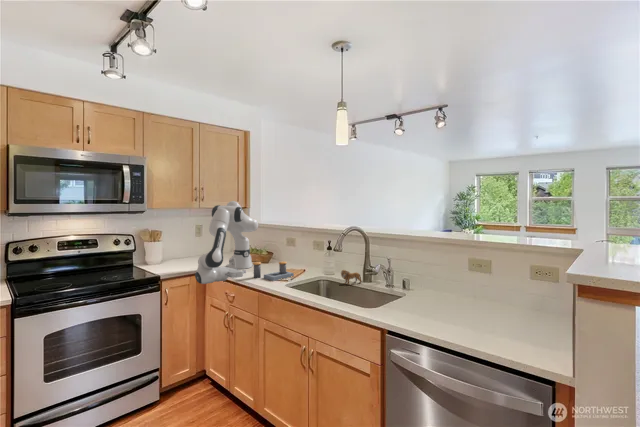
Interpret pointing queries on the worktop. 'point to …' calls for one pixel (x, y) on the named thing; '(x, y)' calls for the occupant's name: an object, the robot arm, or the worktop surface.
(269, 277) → the housing
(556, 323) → the worktop surface
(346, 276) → the lion figurine
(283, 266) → the seated jaw
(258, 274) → the jaw peg
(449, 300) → the worktop surface
